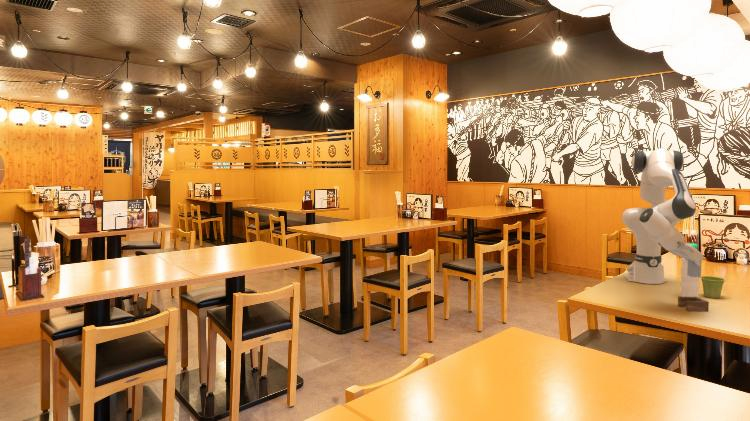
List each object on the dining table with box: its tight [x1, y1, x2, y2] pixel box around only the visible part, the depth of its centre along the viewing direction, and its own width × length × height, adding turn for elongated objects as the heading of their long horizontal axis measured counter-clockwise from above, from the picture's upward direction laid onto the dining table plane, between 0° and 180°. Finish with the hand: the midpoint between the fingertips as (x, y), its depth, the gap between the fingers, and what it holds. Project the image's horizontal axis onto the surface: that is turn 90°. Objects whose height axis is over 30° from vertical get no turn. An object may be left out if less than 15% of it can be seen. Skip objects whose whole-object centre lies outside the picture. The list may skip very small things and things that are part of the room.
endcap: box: [677, 296, 710, 312], centre depth 203 cm, size 8×8×4 cm
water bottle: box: [679, 242, 700, 298], centre depth 219 cm, size 7×7×25 cm
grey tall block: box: [687, 260, 702, 278], centre depth 201 cm, size 4×4×10 cm
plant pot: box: [700, 275, 726, 299], centre depth 220 cm, size 9×9×9 cm
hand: (696, 263), depth 201 cm, fingers closed on grey tall block, 3 cm apart
